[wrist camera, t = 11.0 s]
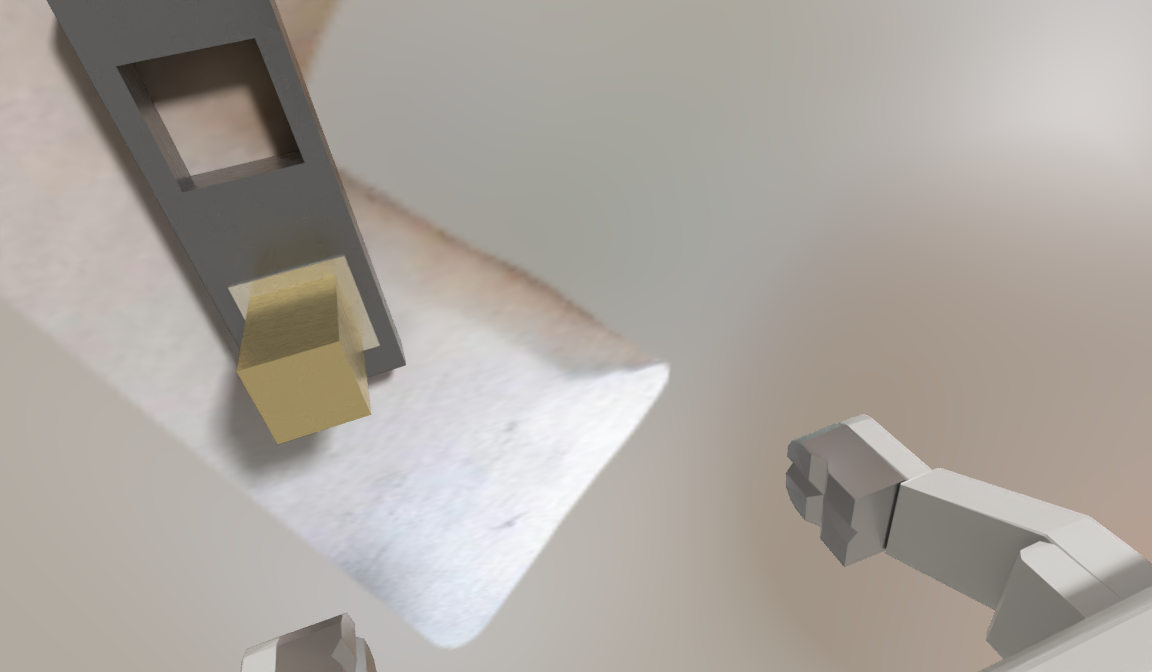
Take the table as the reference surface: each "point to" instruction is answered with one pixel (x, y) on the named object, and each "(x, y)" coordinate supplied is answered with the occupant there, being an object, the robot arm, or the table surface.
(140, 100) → the plate
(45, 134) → the table surface
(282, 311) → the tan block
